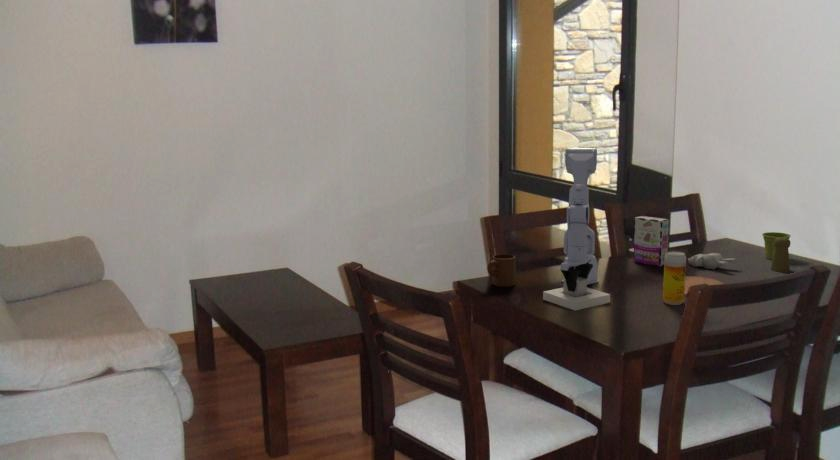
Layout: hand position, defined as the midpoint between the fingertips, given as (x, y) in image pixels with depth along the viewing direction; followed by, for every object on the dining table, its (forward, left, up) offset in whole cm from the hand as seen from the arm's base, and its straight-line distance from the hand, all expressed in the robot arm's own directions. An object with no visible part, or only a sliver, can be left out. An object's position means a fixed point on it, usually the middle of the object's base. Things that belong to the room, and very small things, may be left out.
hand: (576, 289), depth 248 cm
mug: (+8, -27, -4) cm, 28 cm away
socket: (0, 0, -4) cm, 4 cm away
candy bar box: (-53, -19, -4) cm, 56 cm away
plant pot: (-94, +2, -4) cm, 94 cm away
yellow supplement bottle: (-22, +18, -4) cm, 29 cm away
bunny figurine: (-65, -3, -4) cm, 65 cm away
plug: (0, -1, -3) cm, 3 cm away
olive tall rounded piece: (-81, +13, -4) cm, 82 cm away
